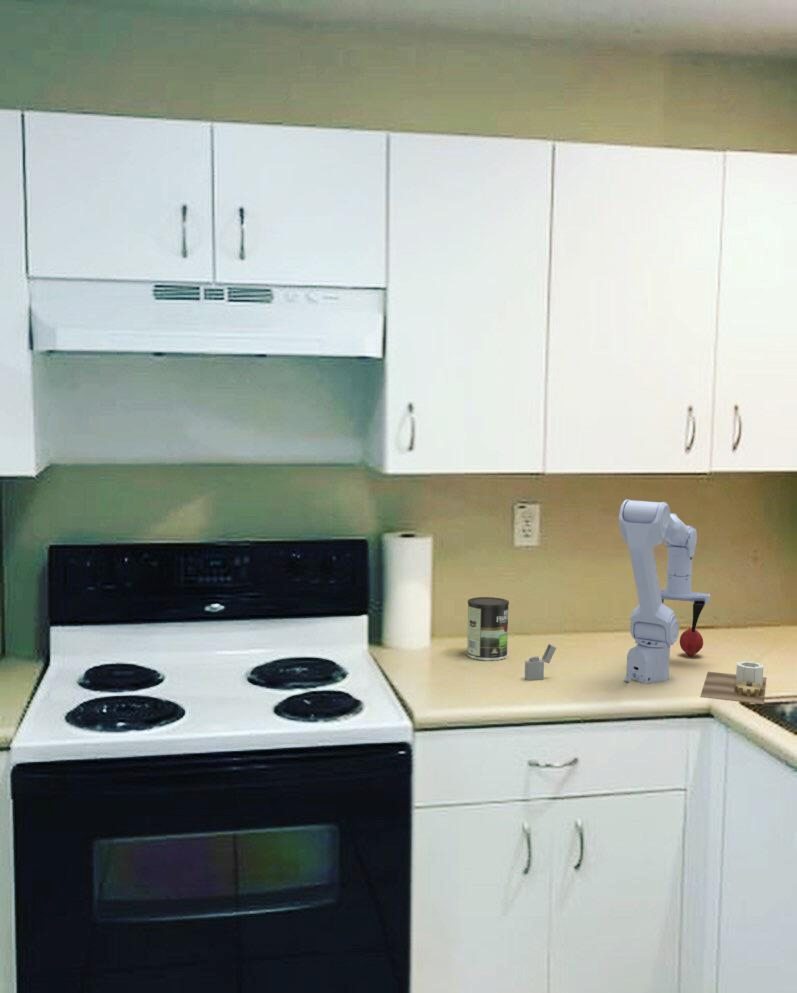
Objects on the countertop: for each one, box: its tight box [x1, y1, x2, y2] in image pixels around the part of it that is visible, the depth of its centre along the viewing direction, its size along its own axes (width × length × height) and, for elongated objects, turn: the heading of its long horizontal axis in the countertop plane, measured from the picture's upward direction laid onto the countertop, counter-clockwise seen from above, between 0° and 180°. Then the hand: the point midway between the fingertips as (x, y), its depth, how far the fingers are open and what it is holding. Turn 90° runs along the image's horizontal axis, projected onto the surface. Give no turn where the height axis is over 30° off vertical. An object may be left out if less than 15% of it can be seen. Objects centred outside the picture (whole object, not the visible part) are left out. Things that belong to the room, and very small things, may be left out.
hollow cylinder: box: [736, 661, 764, 686], centre depth 231 cm, size 6×6×4 cm
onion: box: [679, 624, 704, 657], centre depth 259 cm, size 6×6×8 cm
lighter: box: [524, 643, 557, 682], centre depth 237 cm, size 7×2×8 cm, turn 105°
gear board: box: [699, 671, 767, 705], centre depth 228 cm, size 22×13×4 cm, turn 159°
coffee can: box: [466, 596, 510, 662], centre depth 257 cm, size 10×10×14 cm
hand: (677, 629), depth 247 cm, fingers open, 7 cm apart
